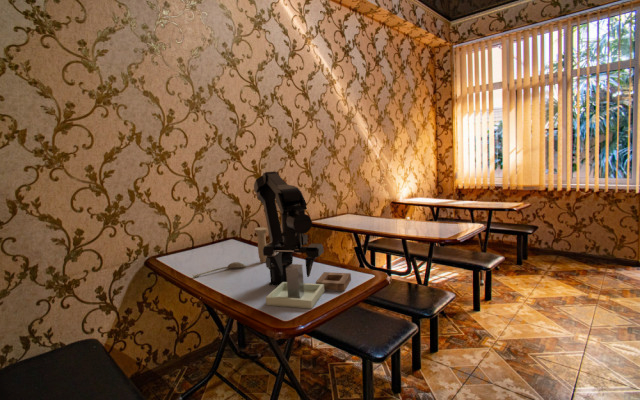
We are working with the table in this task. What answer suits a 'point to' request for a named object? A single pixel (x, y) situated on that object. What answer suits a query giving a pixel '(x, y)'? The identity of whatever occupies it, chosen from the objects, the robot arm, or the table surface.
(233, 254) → the table surface
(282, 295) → the tray
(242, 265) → the soupspoon
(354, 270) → the table surface
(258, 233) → the handle
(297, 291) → the grey rectangular block
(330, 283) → the holder
